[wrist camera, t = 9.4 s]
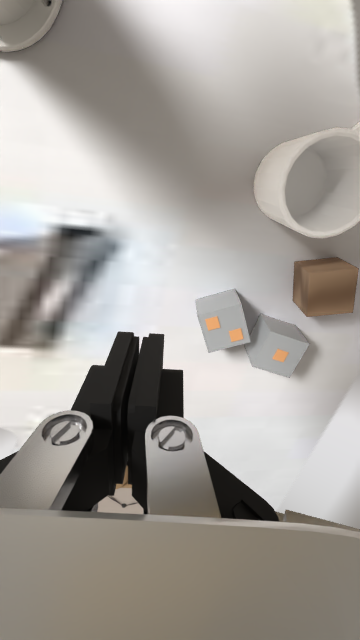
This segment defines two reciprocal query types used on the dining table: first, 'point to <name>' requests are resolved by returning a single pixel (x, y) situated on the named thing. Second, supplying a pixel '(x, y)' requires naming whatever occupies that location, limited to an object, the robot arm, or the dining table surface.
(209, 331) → the block two
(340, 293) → the plain block
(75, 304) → the dining table surface
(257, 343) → the block one
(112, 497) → the alarm clock
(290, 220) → the mug
